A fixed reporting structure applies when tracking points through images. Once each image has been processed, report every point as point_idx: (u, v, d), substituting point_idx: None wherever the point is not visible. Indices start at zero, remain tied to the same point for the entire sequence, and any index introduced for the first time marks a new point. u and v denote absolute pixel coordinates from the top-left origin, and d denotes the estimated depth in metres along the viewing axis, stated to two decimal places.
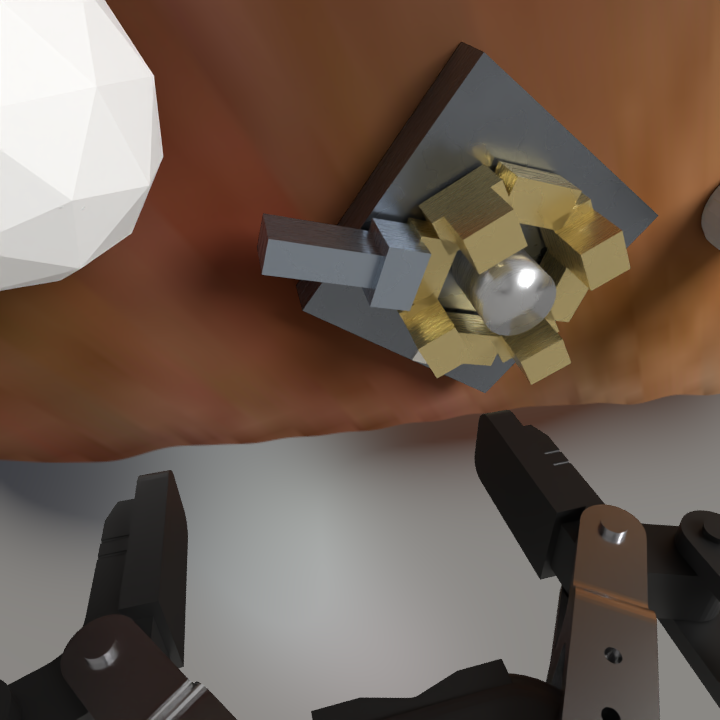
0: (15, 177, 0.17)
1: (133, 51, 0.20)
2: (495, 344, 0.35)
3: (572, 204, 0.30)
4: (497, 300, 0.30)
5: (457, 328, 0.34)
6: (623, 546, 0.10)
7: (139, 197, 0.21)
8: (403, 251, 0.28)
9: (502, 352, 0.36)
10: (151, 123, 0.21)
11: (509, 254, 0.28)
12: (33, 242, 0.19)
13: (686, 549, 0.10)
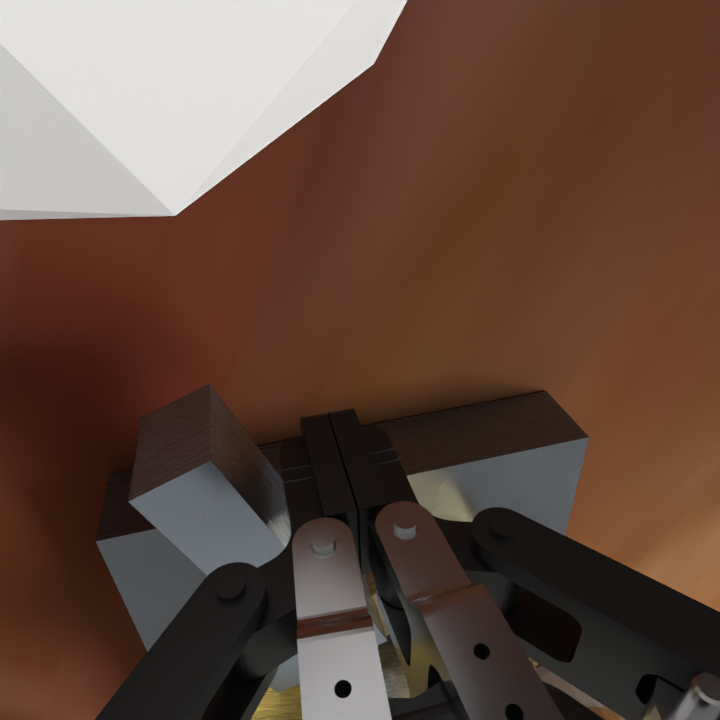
0: None
1: None
2: None
3: None
4: None
5: None
6: (407, 542, 0.10)
7: (120, 213, 0.06)
8: None
9: None
10: (299, 119, 0.08)
11: None
12: None
13: (489, 559, 0.10)
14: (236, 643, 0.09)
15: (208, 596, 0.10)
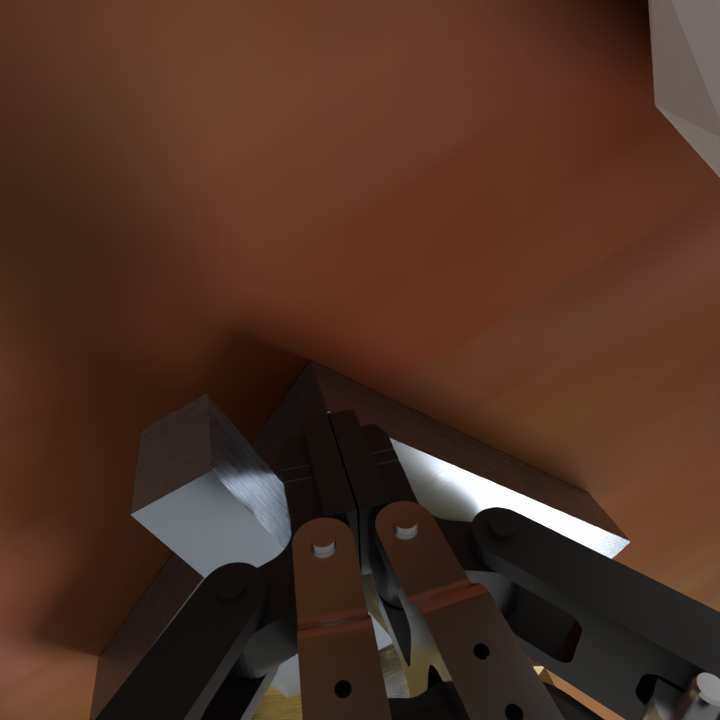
0: None
1: None
2: None
3: None
4: None
5: None
6: (407, 541, 0.10)
7: None
8: None
9: None
10: None
11: None
12: None
13: (489, 559, 0.10)
14: (236, 643, 0.09)
15: (208, 596, 0.10)
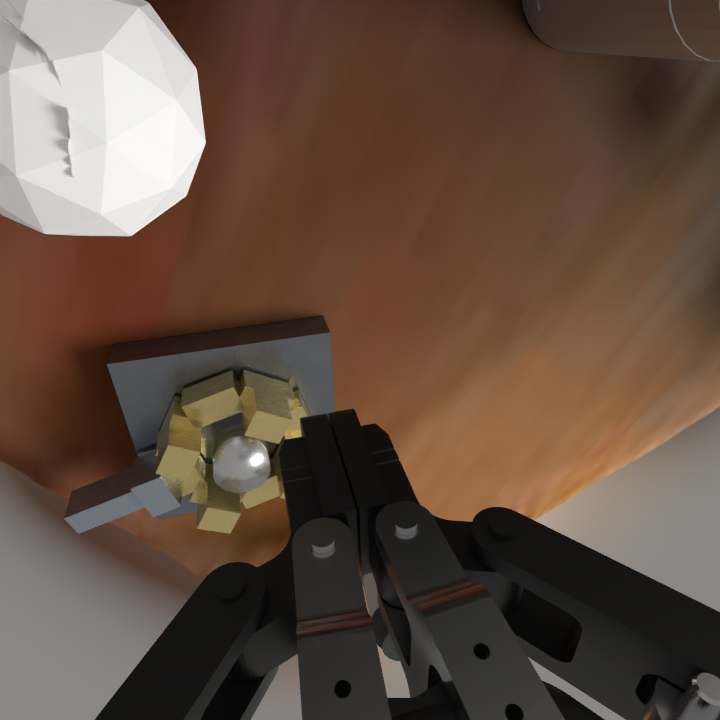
0: (92, 183, 0.25)
1: (191, 180, 0.31)
2: None
3: (236, 395, 0.41)
4: (232, 459, 0.41)
5: None
6: (407, 541, 0.10)
7: (119, 235, 0.30)
8: (140, 485, 0.42)
9: None
10: (163, 212, 0.31)
11: (196, 461, 0.40)
12: (50, 206, 0.26)
13: (489, 559, 0.10)
14: (235, 643, 0.09)
15: (208, 596, 0.10)
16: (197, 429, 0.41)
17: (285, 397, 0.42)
